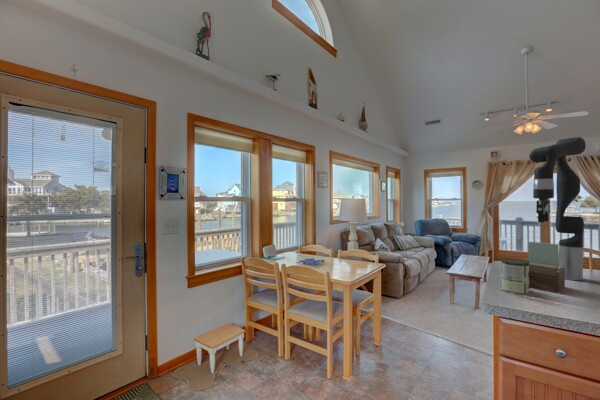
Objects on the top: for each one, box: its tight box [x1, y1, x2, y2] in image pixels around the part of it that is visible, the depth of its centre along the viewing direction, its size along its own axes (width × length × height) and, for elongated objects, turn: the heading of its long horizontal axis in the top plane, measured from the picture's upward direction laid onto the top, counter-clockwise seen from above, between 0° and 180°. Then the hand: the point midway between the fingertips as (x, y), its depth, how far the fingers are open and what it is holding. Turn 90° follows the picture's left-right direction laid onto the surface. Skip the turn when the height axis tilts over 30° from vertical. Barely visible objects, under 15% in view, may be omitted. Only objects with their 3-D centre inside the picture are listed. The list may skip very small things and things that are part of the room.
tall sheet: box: [527, 241, 559, 270], centre depth 135 cm, size 1×11×20 cm, turn 39°
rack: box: [529, 267, 566, 294], centre depth 132 cm, size 14×15×10 cm
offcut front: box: [529, 263, 556, 276], centre depth 131 cm, size 1×11×10 cm, turn 38°
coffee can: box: [500, 258, 530, 296], centre depth 127 cm, size 10×10×14 cm
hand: (543, 221), depth 134 cm, fingers open, 8 cm apart
